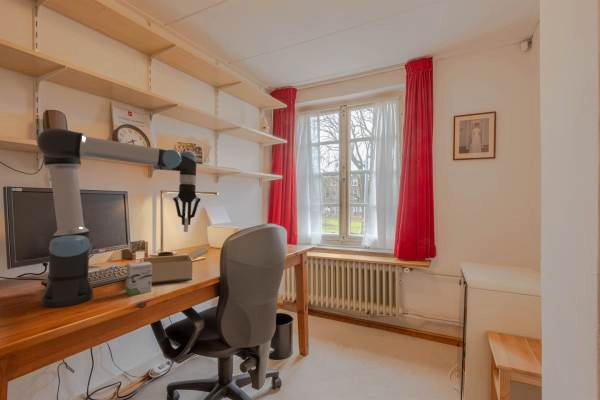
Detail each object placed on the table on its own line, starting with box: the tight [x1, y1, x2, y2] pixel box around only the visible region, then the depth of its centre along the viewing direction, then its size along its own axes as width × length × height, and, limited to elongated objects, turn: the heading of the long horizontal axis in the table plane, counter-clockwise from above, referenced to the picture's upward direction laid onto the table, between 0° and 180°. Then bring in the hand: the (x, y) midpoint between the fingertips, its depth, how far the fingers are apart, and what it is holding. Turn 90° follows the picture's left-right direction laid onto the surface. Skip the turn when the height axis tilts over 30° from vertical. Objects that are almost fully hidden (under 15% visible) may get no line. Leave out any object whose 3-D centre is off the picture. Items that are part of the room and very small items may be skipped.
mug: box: [157, 251, 175, 257], centre depth 155 cm, size 12×8×9 cm, turn 56°
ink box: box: [125, 261, 153, 296], centre depth 120 cm, size 9×5×12 cm, turn 134°
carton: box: [139, 254, 193, 285], centre depth 141 cm, size 24×21×9 cm
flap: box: [188, 245, 209, 261], centre depth 148 cm, size 1×14×8 cm
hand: (185, 231), depth 143 cm, fingers closed
